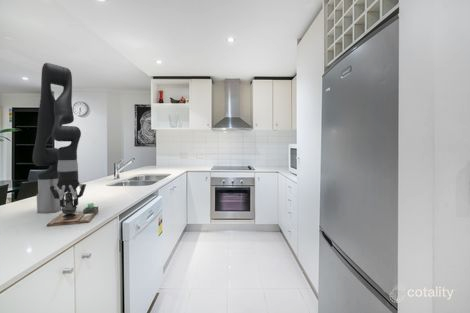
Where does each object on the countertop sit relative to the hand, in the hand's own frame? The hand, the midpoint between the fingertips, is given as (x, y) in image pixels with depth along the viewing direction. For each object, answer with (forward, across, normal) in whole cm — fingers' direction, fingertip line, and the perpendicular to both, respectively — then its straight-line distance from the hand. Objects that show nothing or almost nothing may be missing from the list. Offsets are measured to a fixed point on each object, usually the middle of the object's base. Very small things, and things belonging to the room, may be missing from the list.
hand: (69, 206), depth 106 cm
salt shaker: (+5, 0, 0) cm, 5 cm away
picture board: (+7, -1, -4) cm, 8 cm away
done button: (+5, -6, -9) cm, 12 cm away
